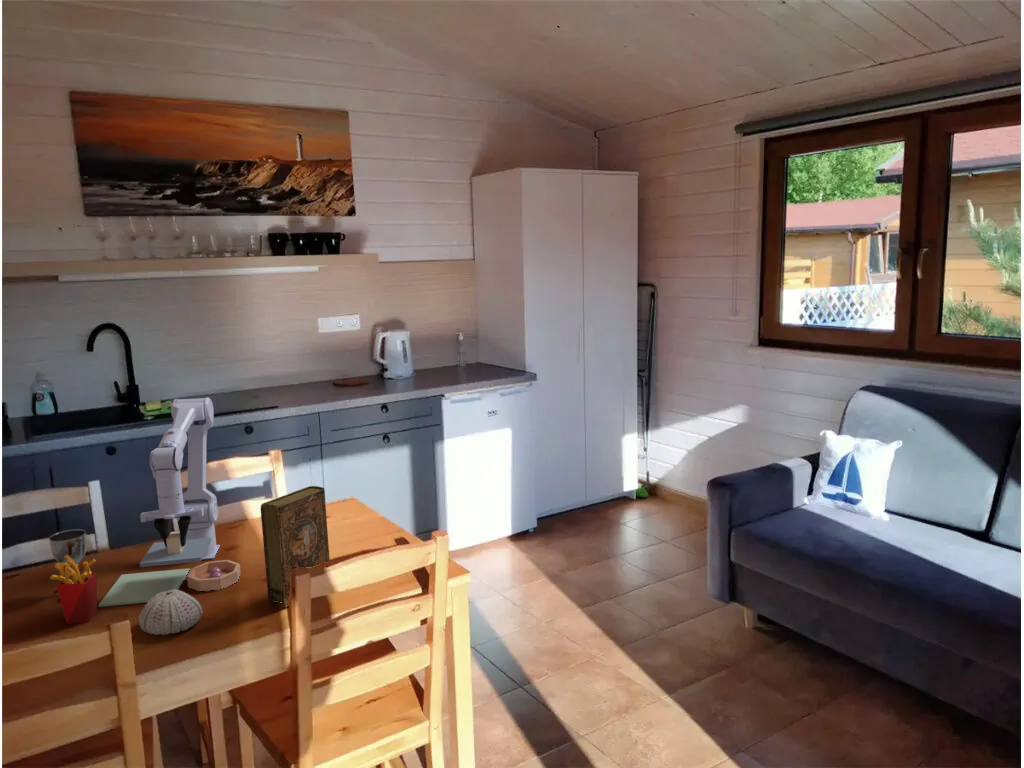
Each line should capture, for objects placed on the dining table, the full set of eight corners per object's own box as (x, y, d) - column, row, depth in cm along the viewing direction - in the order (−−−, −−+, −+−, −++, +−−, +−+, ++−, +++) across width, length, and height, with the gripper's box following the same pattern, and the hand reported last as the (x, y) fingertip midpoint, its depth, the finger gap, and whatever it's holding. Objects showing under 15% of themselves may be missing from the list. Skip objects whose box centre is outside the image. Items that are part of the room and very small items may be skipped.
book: (319, 578, 199) (311, 485, 195) (334, 583, 196) (327, 488, 192) (268, 604, 186) (259, 504, 181) (284, 609, 183) (275, 507, 178)
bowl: (195, 573, 205) (194, 563, 204) (242, 569, 207) (241, 558, 206) (184, 593, 193) (183, 582, 192) (235, 588, 195) (234, 577, 194)
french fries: (103, 610, 185) (95, 550, 182) (88, 626, 177) (80, 564, 174) (63, 613, 184) (55, 553, 181) (47, 630, 176) (38, 567, 173)
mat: (121, 576, 204) (121, 574, 204) (190, 570, 207) (189, 568, 207) (98, 607, 187) (98, 605, 187) (173, 599, 190) (173, 597, 190)
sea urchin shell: (146, 616, 182) (143, 584, 180) (208, 609, 184) (204, 577, 183) (133, 644, 169) (128, 609, 167) (199, 635, 172) (195, 601, 170)
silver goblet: (56, 601, 191) (48, 543, 188) (57, 589, 198) (49, 533, 195) (92, 593, 194) (85, 536, 192) (93, 582, 201) (85, 527, 199)
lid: (154, 546, 202) (152, 528, 202) (211, 541, 205) (209, 523, 204) (139, 567, 189) (137, 547, 188) (200, 561, 191) (198, 542, 191)
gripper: (134, 501, 189) (140, 554, 191) (197, 496, 192) (203, 548, 194) (142, 493, 196) (148, 544, 198) (203, 488, 198) (208, 538, 201)
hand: (175, 545), depth 196 cm, fingers closed on lid, 3 cm apart
